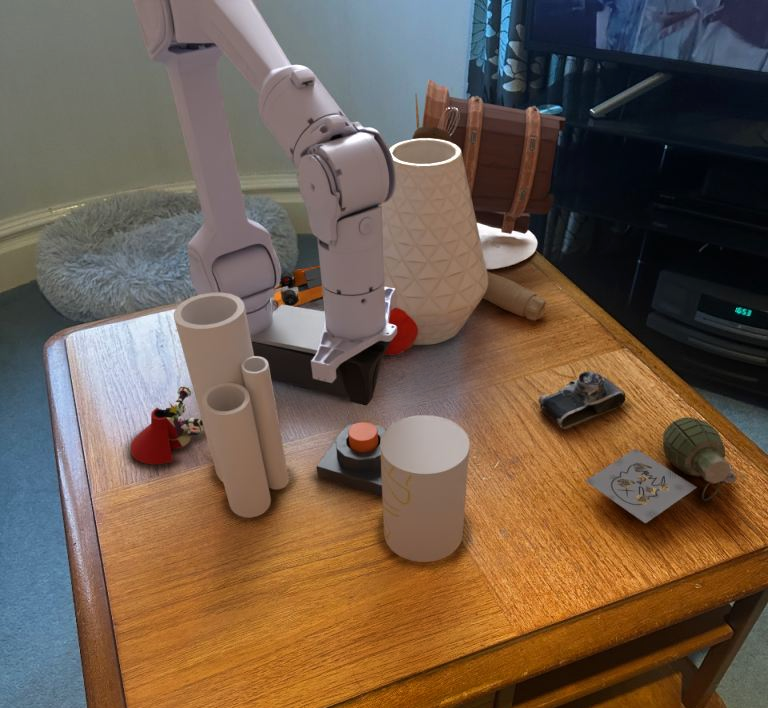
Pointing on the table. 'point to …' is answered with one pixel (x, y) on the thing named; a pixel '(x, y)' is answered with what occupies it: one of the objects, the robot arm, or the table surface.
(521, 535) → the table surface
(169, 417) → the action figure
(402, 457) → the cup
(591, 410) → the camera
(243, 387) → the vase
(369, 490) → the block
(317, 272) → the toy car
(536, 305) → the handle
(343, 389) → the lidded storage box
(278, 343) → the lid
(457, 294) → the vase
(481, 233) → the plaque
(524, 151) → the wooden chest
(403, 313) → the apple
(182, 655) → the table surface
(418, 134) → the utensil holder
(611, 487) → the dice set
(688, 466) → the grenade
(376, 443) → the button
